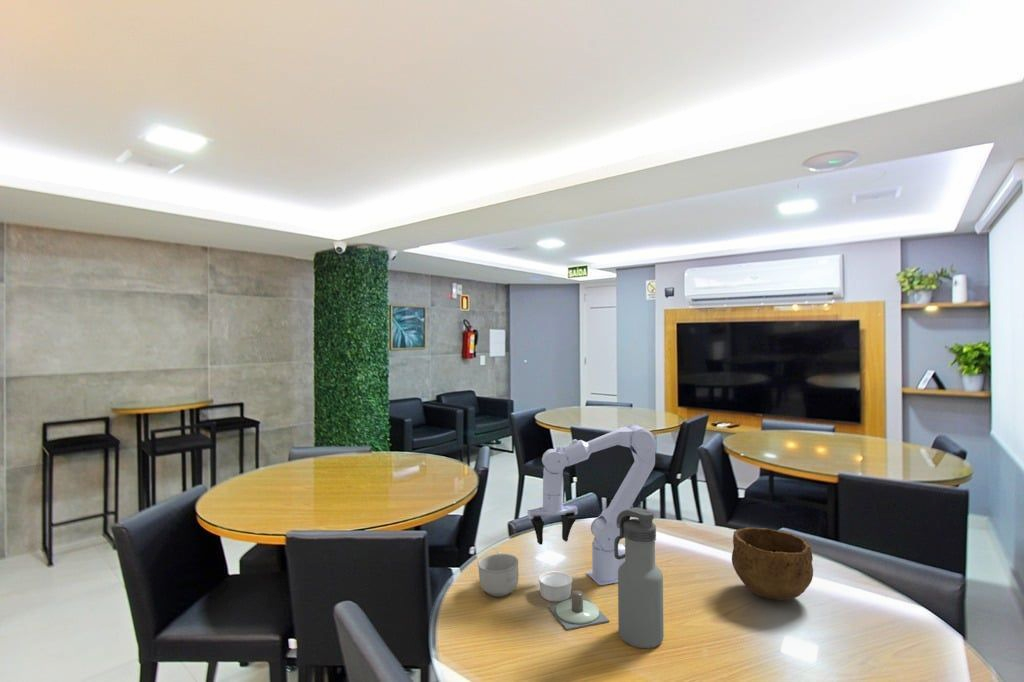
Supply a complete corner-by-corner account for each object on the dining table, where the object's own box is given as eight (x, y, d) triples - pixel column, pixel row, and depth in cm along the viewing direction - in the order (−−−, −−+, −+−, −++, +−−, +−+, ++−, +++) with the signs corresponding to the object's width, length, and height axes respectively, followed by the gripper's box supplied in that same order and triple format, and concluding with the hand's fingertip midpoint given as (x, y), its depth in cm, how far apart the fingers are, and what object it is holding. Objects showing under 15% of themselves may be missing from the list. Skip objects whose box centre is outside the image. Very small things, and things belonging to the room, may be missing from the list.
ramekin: (534, 589, 133) (534, 572, 133) (565, 585, 135) (565, 569, 135) (544, 605, 124) (544, 588, 124) (577, 601, 126) (577, 583, 126)
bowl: (808, 586, 133) (807, 531, 134) (818, 621, 116) (817, 557, 117) (732, 573, 141) (731, 521, 142) (731, 604, 124) (730, 544, 125)
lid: (580, 597, 127) (580, 579, 127) (608, 615, 118) (608, 596, 118) (547, 608, 122) (547, 590, 122) (574, 628, 113) (574, 608, 113)
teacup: (514, 603, 125) (514, 571, 126) (473, 598, 127) (473, 567, 128) (523, 578, 139) (523, 549, 139) (486, 575, 141) (486, 546, 141)
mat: (587, 599, 127) (587, 598, 127) (609, 621, 116) (609, 620, 116) (548, 607, 123) (548, 605, 123) (566, 630, 113) (566, 628, 113)
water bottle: (607, 633, 111) (606, 509, 112) (635, 619, 117) (634, 501, 118) (644, 655, 103) (643, 521, 104) (672, 639, 109) (671, 511, 110)
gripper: (570, 487, 145) (569, 533, 145) (523, 491, 140) (523, 539, 140) (581, 493, 138) (580, 542, 138) (532, 498, 134) (532, 548, 133)
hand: (552, 541), depth 139 cm, fingers open, 7 cm apart
